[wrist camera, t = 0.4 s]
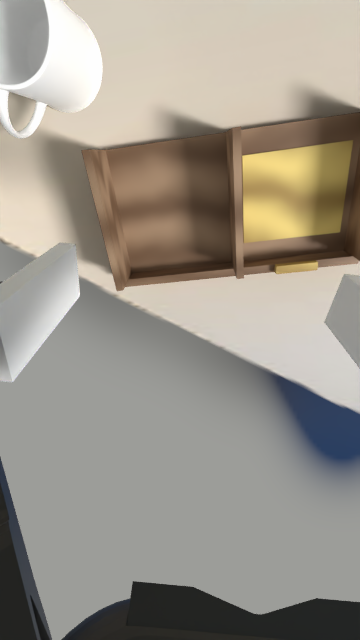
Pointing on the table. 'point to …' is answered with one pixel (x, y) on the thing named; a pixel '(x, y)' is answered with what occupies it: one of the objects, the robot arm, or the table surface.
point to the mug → (46, 59)
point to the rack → (231, 202)
